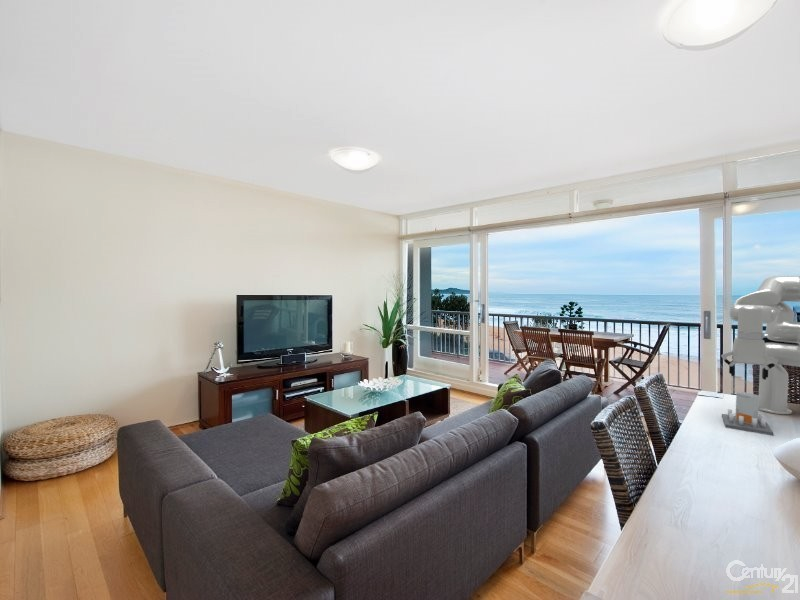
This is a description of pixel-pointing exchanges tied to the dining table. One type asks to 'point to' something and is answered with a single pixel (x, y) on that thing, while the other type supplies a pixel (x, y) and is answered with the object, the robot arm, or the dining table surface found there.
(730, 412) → the peg board
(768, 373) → the robot arm
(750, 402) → the skincare box
